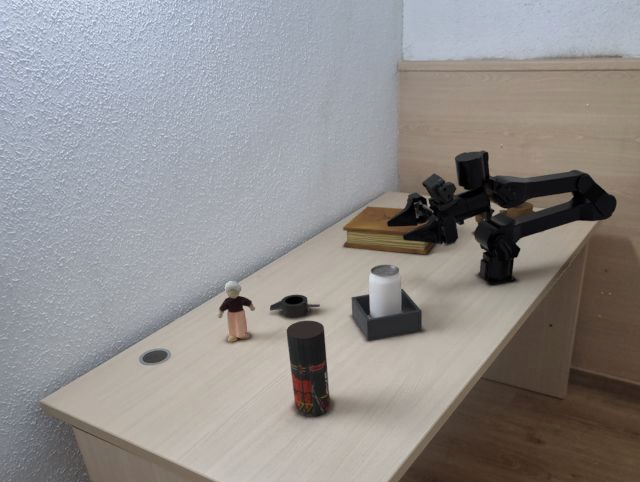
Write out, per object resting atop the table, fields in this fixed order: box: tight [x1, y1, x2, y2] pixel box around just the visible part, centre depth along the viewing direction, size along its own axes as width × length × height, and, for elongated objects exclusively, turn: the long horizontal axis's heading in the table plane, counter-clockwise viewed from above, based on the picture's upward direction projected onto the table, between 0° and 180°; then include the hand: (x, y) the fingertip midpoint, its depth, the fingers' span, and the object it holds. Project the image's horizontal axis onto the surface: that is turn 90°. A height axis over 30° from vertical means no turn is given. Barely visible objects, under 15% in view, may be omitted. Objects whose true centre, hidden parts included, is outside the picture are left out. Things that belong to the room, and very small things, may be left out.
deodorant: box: [286, 320, 331, 418], centre depth 101 cm, size 6×6×15 cm
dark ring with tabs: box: [269, 294, 321, 319], centre depth 135 cm, size 8×10×3 cm
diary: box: [342, 206, 436, 255], centre depth 168 cm, size 23×19×6 cm
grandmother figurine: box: [217, 280, 256, 343], centre depth 124 cm, size 8×4×13 cm, turn 117°
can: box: [368, 264, 402, 319], centre depth 125 cm, size 6×6×12 cm
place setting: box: [473, 201, 536, 234], centre depth 172 cm, size 18×20×6 cm
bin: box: [350, 288, 423, 341], centre depth 127 cm, size 11×11×4 cm
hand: (395, 230), depth 130 cm, fingers open, 9 cm apart
